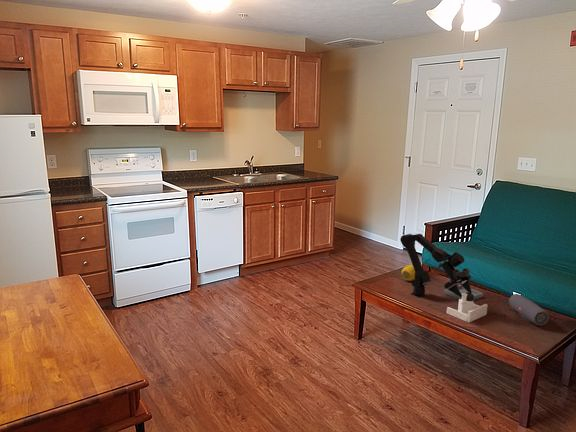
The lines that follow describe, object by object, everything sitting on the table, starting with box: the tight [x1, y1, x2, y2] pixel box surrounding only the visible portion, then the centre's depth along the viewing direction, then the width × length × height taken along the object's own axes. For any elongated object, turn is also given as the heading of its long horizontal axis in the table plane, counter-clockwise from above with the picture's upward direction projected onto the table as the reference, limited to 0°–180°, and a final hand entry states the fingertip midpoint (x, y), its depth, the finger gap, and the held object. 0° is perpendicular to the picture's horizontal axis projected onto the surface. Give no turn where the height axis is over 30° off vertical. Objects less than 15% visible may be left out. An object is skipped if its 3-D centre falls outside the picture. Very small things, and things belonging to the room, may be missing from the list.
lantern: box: [398, 263, 425, 282], centre depth 291 cm, size 10×10×30 cm
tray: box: [443, 284, 484, 301], centre depth 267 cm, size 16×16×2 cm
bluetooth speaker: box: [508, 293, 550, 326], centre depth 236 cm, size 23×9×10 cm, turn 5°
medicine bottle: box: [457, 292, 477, 315], centre depth 240 cm, size 7×7×12 cm
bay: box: [446, 303, 489, 323], centre depth 241 cm, size 14×17×6 cm
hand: (466, 295), depth 240 cm, fingers open, 9 cm apart
